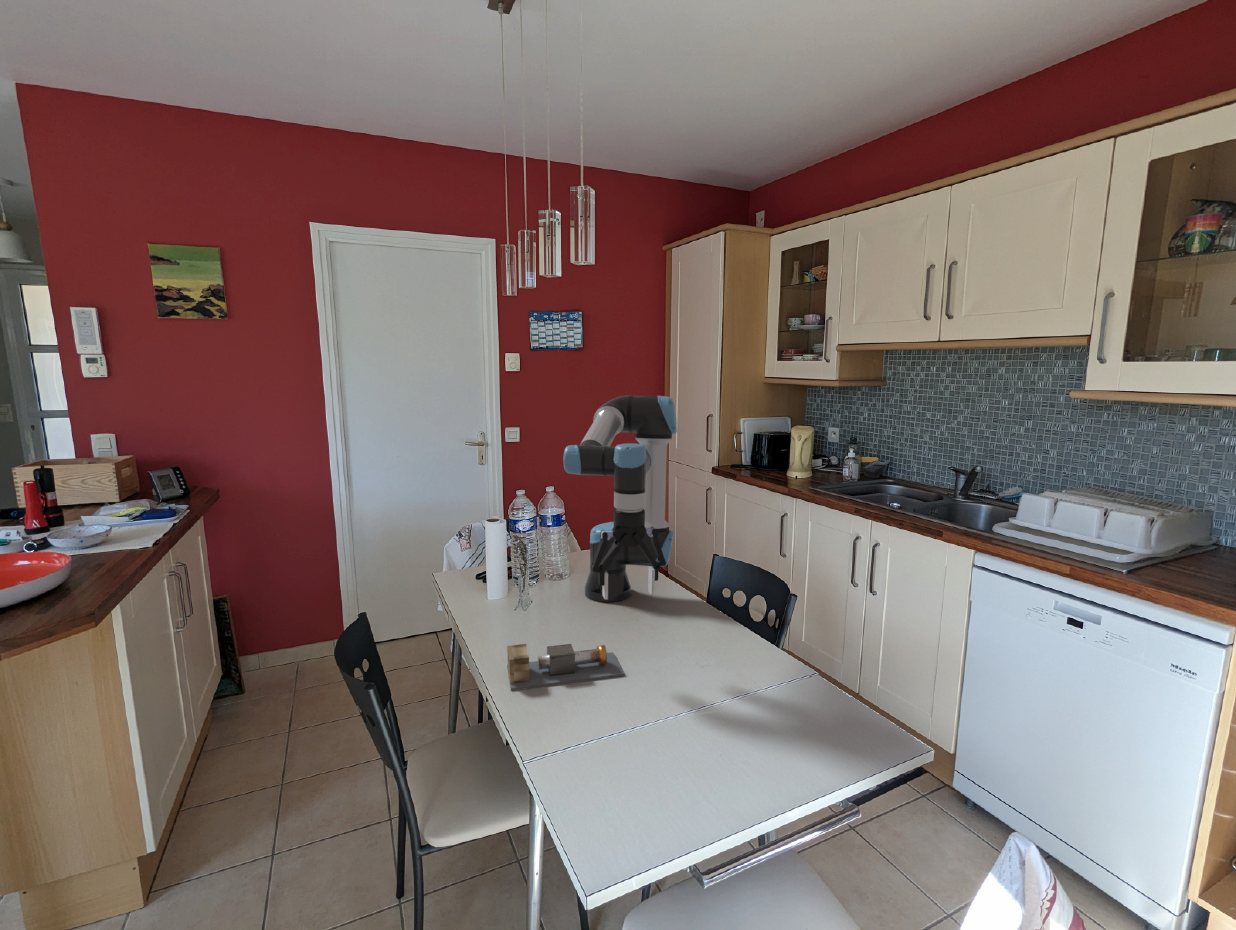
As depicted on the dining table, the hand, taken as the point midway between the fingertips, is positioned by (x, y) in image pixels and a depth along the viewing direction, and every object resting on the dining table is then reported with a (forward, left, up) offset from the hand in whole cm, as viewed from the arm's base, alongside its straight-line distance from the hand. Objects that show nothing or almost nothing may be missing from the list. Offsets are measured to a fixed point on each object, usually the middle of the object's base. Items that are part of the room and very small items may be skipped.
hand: (628, 595), depth 144 cm
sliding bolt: (+14, 0, -17) cm, 22 cm away
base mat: (+16, 0, -18) cm, 24 cm away
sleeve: (+17, 0, -18) cm, 25 cm away
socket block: (+27, 0, -18) cm, 33 cm away
